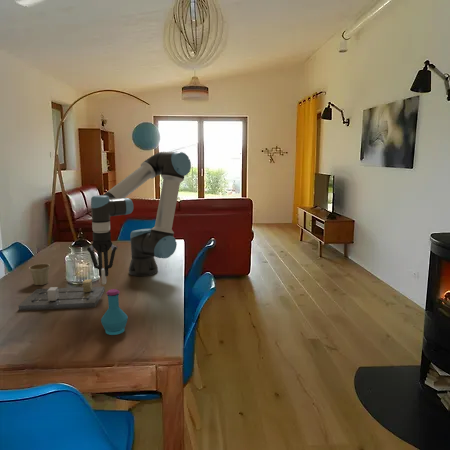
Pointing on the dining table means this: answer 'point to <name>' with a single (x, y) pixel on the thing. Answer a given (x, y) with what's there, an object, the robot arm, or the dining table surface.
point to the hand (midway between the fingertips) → (104, 283)
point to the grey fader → (53, 294)
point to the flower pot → (40, 273)
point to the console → (63, 299)
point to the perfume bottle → (114, 315)
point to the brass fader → (87, 285)
